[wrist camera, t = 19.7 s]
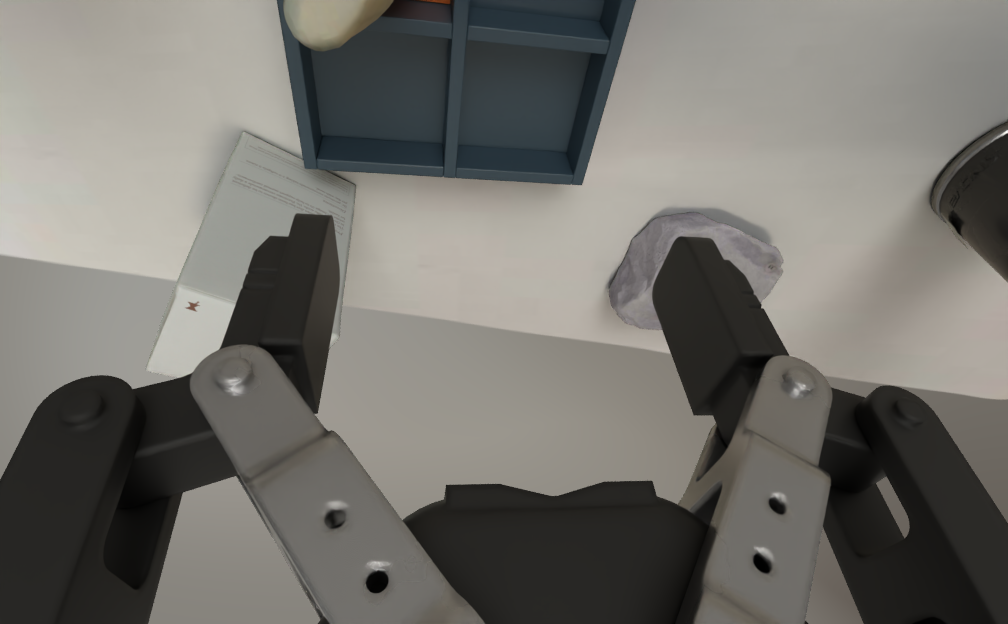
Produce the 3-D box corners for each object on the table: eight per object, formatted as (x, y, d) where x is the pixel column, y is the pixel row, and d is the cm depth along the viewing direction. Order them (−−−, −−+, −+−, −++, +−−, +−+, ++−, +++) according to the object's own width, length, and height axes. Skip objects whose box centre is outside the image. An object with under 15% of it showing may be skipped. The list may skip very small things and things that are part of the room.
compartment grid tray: (661, -179, 22) (685, -168, 20) (572, 157, 34) (582, 185, 32) (255, -253, 20) (235, -249, 17) (312, 139, 31) (304, 169, 29)
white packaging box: (205, 212, 34) (136, 371, 26) (243, 126, 30) (175, 282, 22) (315, 257, 38) (285, 408, 30) (362, 186, 34) (342, 338, 26)
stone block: (646, 190, 39) (596, 299, 44) (675, 221, 35) (617, 336, 41) (773, 215, 42) (712, 313, 48) (811, 246, 39) (741, 348, 44)
